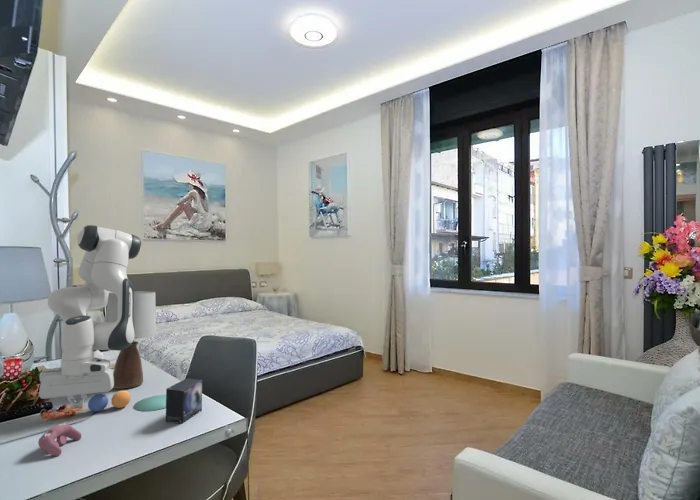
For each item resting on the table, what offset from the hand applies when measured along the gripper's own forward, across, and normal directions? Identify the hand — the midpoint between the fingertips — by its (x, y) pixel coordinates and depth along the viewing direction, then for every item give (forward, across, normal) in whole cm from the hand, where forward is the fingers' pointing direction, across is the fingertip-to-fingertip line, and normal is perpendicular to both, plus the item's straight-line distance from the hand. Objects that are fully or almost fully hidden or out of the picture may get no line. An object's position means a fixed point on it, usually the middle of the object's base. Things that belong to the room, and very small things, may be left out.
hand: (77, 407), depth 123 cm
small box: (+2, +34, -15) cm, 37 cm away
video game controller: (+2, +3, -25) cm, 25 cm away
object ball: (-1, +12, 0) cm, 12 cm away
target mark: (+2, +23, 0) cm, 23 cm away
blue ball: (-1, +6, -1) cm, 6 cm away
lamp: (+2, +9, +24) cm, 26 cm away
